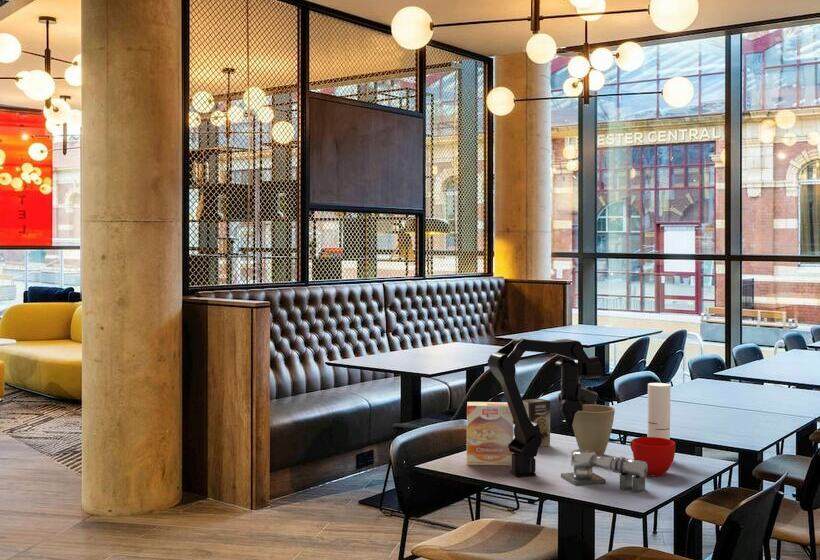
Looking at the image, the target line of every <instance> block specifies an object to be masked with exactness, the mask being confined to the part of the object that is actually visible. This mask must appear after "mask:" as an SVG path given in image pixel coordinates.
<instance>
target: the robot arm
mask: <svg viewBox="0 0 820 560" xmlns="http://www.w3.org/2000/svg"><path fill="white" fill-rule="evenodd" d="M525 352H531V353H532V352H533V353H543V354H553V355H557V356H561V357H560V358H559V359H558V360H557V361H556V362H555V363H554V364H555V365H556V366H561V372H560V374H561V375H560V377H561V379H560V392H559V393H558V395H557V401H558V402H560V403H561V404H559V407H560V410H561V413H562V416H563V418H564V419H563V420H564V421H565V424H566V426H567V429H568V430H569V429H570V430H571V429H573V425H572V424H573V420H574V416H575V413H576V412H577V411H583V405H584V404H583V403H582V402H581V401H582V400H584V401H587V402H589V403H590V404H592V405H596V401H597V399H598V396H599V394H598V392H596V391H594V389H593V388H594V387H592V386H590V385H587V386H585V387H582V384H581V382H580V378H581V379H583V380H584V379H600V378H601V377H602V375H603V371H604V368H603V365H602V363H601V362H600V357H599V356H588V355H587V353H586V352H585V350H584V346H583V344H582V342H581V341H579V340H575V339H571V338H570V339H568V338H564V339H562V338H561V339H555V340H551V341H550V340H542V339H541V340H539V339H529V338H528V339H527V338H523V337H515V338H513V339H512V340H511V341H509V343H507V344H506V345H504V346H502V347H501V348H498V350H497V351H496V352H493V353H491V354H490V355H489V358H488V359H487V366H488V367H489V369H490V371H491V373H492V375H493V376H494V377H495V378H496V380H497V381H498V382H499V384H500V386H501V390H502V392H503V395H504V397H505V400H506V402H507V403H508V406H509V409H510V412H511V414H512V417H513V424H514V426H513V436H514V437H513V441H512V442H511V443H510V444H509V445H508V448H509V451H510V452H512V466H511V469H510V470H509V473H511V474H512V475H513V476H515V477H533V476H534V477H535V476H537V473H536V458H535V457H537V455H538V452H539V448H541V447H540V445H541V443H542V438H541V436H543V435H542V434H541V432H540V429H539V425H538V424H536V423H533V422H531V421H530V420H529V417H528V414H527V412H526V409H525V406H524V403H523V400H524V399H523V397H522V396H521V392H520V390H519V386H518V384H517V381H516V374H517V373H516V372H517V370H516V364H517V363H518V362H519V361H520V360H521V358H522V357H523V355H524V353H525ZM563 357H564V358H563ZM565 358H568V359H565Z"/></svg>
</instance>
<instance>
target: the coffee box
mask: <svg viewBox="0 0 820 560" xmlns="http://www.w3.org/2000/svg"><path fill="white" fill-rule="evenodd" d="M522 400H523V403H524V406H525V409H526V412H527V414H528V417H529V420H530V421H531V422H533V423H536V424H538V425H539V429H540V432H541V434H542V435H543V436H541V438H542V443H541V445H540V447H539V448H541V447H544V448H545V447H548V446H549V447H550V446H551V400H549V399H544V398H531V399H522Z"/></svg>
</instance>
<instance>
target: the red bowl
mask: <svg viewBox="0 0 820 560" xmlns="http://www.w3.org/2000/svg"><path fill="white" fill-rule="evenodd" d="M629 443H630V444H629V446H630V449H631V451H632V456H633V460H638V461H644V462H646V463H647V465H648V471H647V474H646V476H649V475H651V476H650V477H661V476H664V475H665V474H666V473H667V472H668V471H669V470H670V468H671V467H672V465H673V463H674V459H675V455H676V454H675V453H676V442H675V441H673V440H671V439H670V440H669V439H665V438H657V437H647V436H641V437H636V438H633V439H632V440H631V441H630V442H629Z"/></svg>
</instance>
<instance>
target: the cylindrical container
mask: <svg viewBox="0 0 820 560" xmlns="http://www.w3.org/2000/svg"><path fill="white" fill-rule="evenodd" d="M646 428H647V432H646V433H647V434H646V435H647V436H646V437H657V438H665V439H669V440H671V439H670V438H671V384H669V383H664V382H649V383H647V426H646Z"/></svg>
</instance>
